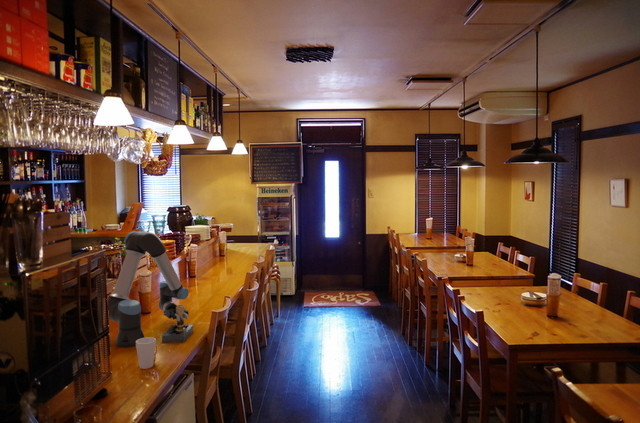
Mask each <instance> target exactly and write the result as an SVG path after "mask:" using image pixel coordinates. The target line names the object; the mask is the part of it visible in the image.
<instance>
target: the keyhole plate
mask: <svg viewBox="0 0 640 423" xmlns="http://www.w3.org/2000/svg"><path fill="white" fill-rule="evenodd" d="M183 327H185V328H186V330H182V331H181V332H175V329H176V328H178V325H177V324H172V325H171V326H170V327H169V328H168V329H167V330H166V331H165V332H164V333H163V334H162V335H161V342H162V343H185V341H187V339H189V337H190V336H191V334H192V333H193V331H194V324H183Z"/></svg>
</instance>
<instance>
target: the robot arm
mask: <svg viewBox="0 0 640 423" xmlns="http://www.w3.org/2000/svg"><path fill="white" fill-rule="evenodd" d="M124 246H125V249H124V251H125V253H126V255H125V258H124V259H123V263H122V266H121V268H120V271H119V275H118V276H117V280H116V284H115V286H114V289H113V291H112V293H111V294H108V298H107V299H108V310H109V320H108V321H112V322H117V323H118V332H117V335H116V339H115V345H116V346H117V347H121V348H129V347H136V340H138V339H141V338H145V334H144V332H143V329H142V306H141V303H140V301H138V300H135V299H130V297H129V296H130V291H131V288H132V286H133V283H134V280H135V277H136V275H137V271H138V268H139V266H140V263H141V259H142V258H143V257H144V256H146V253H148V254H149V256H150V258H151V259H153V260H154V261H155V263H156V265H157V267H158V269H159V271H160V273H161V275H162V277H163V278H164V280H162V281H160V283H159V301H158V308H160V310H162V311H163V316H165V317H166V318H168V319H172V320H176V322H177V321H180V316H178V315H177V314H176V306H178V305H177V304H176V303H175V302H173V299H176V300H186V299H187V298H188V297H189V294H190V291H189V289H188V288H187V287H184V285H183V284H182V282H181V279H180V278H179V275H178V273H177V272H176V270H175V268H174V266H173V264H172V262H171V260H170V259H169V256H168V254H167V253H166V252H167V248H166V246H165V244H164V243H163V242H162V240H161V239H160V237H158V235H157V234H155V233H154V232H151V231H142V230H133V231H131V232H128V233H127V234H126V235H125V238H124ZM189 314H190V313H189V311H188V310H187V309H186V307H184V320H186V321H187V320H189Z"/></svg>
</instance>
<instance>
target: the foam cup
mask: <svg viewBox="0 0 640 423" xmlns="http://www.w3.org/2000/svg"><path fill="white" fill-rule="evenodd" d="M144 337H145V336H144ZM156 345H157V339H156V338H155V337H153V336H151V337H150V336H149V337H147V336H146V337H145V338H141V339H138V340H136V346H135V349H136V354H137V360H138V365H139V368H140V369H143V370H145V369H146V370H147V369H151V368H152V367H153V366H154V362H155V354H156V353H155V352H156Z"/></svg>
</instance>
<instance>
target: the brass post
mask: <svg viewBox="0 0 640 423" xmlns="http://www.w3.org/2000/svg"><path fill="white" fill-rule="evenodd" d="M184 308H185V305H183V304H178V305H177V306H176V314H177V315H178V316H180V321H177V320H176V325H178V328H176V329H175V332H181V331H182V330H186V328H185V327H183V325H185V318H184Z"/></svg>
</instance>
